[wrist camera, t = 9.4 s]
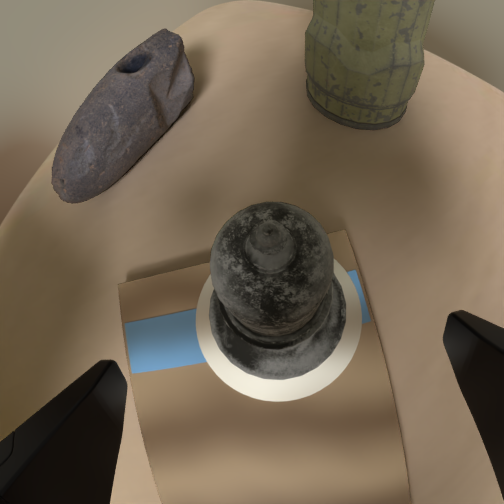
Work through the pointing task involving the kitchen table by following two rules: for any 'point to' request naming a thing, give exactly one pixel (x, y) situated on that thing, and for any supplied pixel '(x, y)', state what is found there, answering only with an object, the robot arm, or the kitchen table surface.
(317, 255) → the dark grey chess piece
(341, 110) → the thermos
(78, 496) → the robot arm
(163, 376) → the board
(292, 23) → the kitchen table surface
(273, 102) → the kitchen table surface
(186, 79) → the perforated stone tool
